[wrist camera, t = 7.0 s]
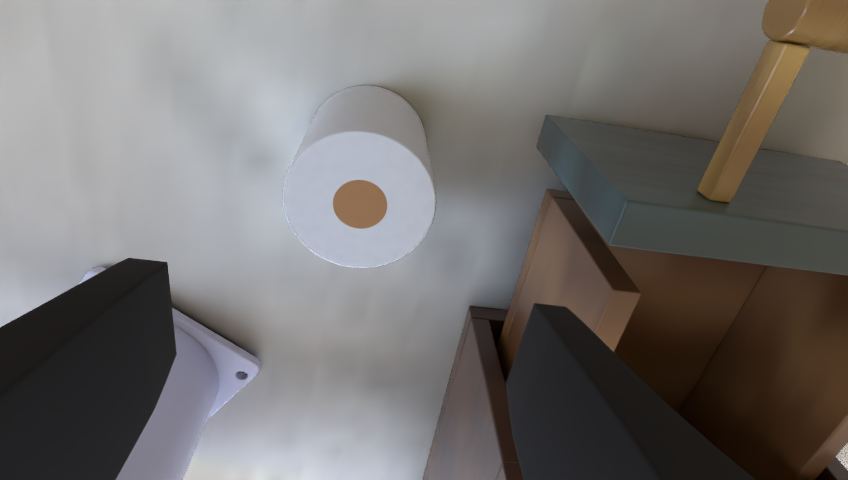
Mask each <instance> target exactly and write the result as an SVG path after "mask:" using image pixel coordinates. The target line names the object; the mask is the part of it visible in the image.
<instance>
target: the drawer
mask: <svg viewBox="0 0 848 480" xmlns="http://www.w3.org/2000/svg"><path fill="white" fill-rule="evenodd" d="M762 29H763V32H764V34H765V35H766V36H767V37H768V38H769V39H771V40H769V41H768V43H767V45H766V47H765V49H764V51H763V53H762V55H761V57H760V59H759V61H758V64H757V66H756V68H755V70H754V72H753V74H752V76H751V78H750V80H749V82H748V84H747V86H746V89H745V91H744V93H743V95H742V97H741V99H740V101H739V103H738V105H737V107H736V109H735V112H734V114H733V116H732V118H731V120H730V122H729V124H728V126H727V128H726V130H725V132H724V135H723V137H722V139H721V141H720V142H715V141H708V140H702V139H696V138H689V137H683V136H677V135H671V134H664V133H658V132H652V131H645V130H639V129H633V128H627V127H620V126H614V125H608V124H601V123H595V122H589V121H583V120H576V119H570V118H564V117H558V116H551V115H546V116H545V119H544V123H543V126H542V130H541V133H540V137H539V140H538V143H537V149H538V150H539V151H540V153H541V154H542V156H543V157H544V158H545V160H546V161H547V162H548V164H549V165H550V166H551V168H552V169H553V170H554V172H555V173H556V175H557V176H558V177H559V179H560V180H561V181H562V183H563V184H564V185H565V187H566V188H567V189H568V191H562V190H554V189H547V190H546V193H545V196H544V199H543V202H542V205H541V209H540V212H539V215H538V218H537V221H536V224H535V227H534V231H533V234H532V237H531V240H530V243H529V246H528V250H527V253H526V256H525V259H524V262H523V265H522V269H521V272H520V275H519V278H518V281H517V284H516V287H515V291H514V294H513V297H512V300H511V303H510V306H509V310H508V313H507V316H506V319H505V322H504V325H503V328H502V332H501V335H500V338H499V341H498V344H497V347H496V350H497V354H498V358H499V361H500V365H501V369H502V373H503V377H504V381H505V384H506V382H507V379H508V376H509V373H510V370H511V368H512V365H513V362H514V359H515V356H516V353H517V350H518V348H519V345H520V342H521V339H522V336H523V333H524V330H525V328H526V325H527V322H528V319H529V316H530V313H531V311H532V308H533V305H534V303H538V304H547V305H556V306H565V307H567V308H568V309H569V310H571V311H572V312H573V313H574V314H575V315H576V316H577V317H578V318H579V319H580V320H581V321H583V322H584V323H585V324H586V325H587V326H588V327H589V328H590V329H591V330H592V331H593V332H594V333H595V334H596V335H597V336H598V337H599V338H600V339H601V340H602V341H603V342H604V343H605V344H606V345H607V346H608V347H609V348H610V349H611V350H612V351H613V352H614V353H615V354H616V355H617V356H618V357H619V358H620V359H621V360H622V361H623V362H624V363H625V364H626V365H627V366H628V367H629V368H630V369H631V370H632V371H633V372H634V373H635V374H636V375H637V376H639V377H640V378H641V379H642V380H643V381H644V382H645V383H646V384H647V385H648V386H649V387H650V388H651V389H652V390H653V391H654V392H655V393H656V394H657V395H658V396H660V397H661V398H662V399H663V400H664V401H665V402H666V403H667V404H668V405H669V406H670V407H671V408H672V409H674V410H675V411H676V412H677V413H678V414H679V415H680V416H681V417H682V418H683V419H685V420H686V421H687V422H688V423H689V424H690V425H691V426H693V427H694V428H695V429H696V430H697V431H698V432H699V433H701V434H702V435H703V436H704V437H705V438H706V439H707V440H709V441H710V442H711V443H712V444H713V445H714V446H715V447H717V448H718V449H719V450H720V451H721V452H722V453H724V454H725V455H726V456H727V457H728V458H730V459H731V460H732V461H733V462H735V463H736V464H737V465H738V466H739V467H741V468H742V469H743V470H744V471H746V472H747V473H748V474H749V475H751V476H752V477H753V478H755V479H757V480H815V479H816V478H817V477H818V476H819V474H820V473H821V472H822V471H823V470H824V469H825V468H826V466H827V465H828V464H829V463H830V462H831V461H832V460H833V459H834V457H835V456H836V455H837V454H838V453H839V452H840V451H841V449H842V448H843V447H844V446H845V445H846V444H847V443H848V165H846V164H844V163H842V162H840V161H834V160H828V159H821V158H815V157H809V156H802V155H796V154H790V153H784V152H777V151H771V150H765V149H759V147H760V145H761V143H762V141H763V139H764V137H765V136H766V134H767V132H768V130H769V128H770V126H771V124H772V122H773V120H774V118H775V116H776V115H777V113H778V111H779V109H780V107H781V105H782V103H783V101H784V99H785V97H786V95H787V93H788V92H789V90H790V88H791V86H792V84H793V82H794V80H795V78H796V76H797V74H798V72H799V70H800V69H801V67H802V65H803V63H804V61H805V59H806V57H807V55H808V53H809V51H810V49H809V48H808V47H812V48H817V49H822V50H828V51H833V52H838V53H843V54H848V0H769V2H768V4H767V6H766V8H765V11H764V14H763V18H762ZM801 45H802V46H801ZM806 46H807V47H806Z"/></svg>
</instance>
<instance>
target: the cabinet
mask: <svg viewBox="0 0 848 480" xmlns="http://www.w3.org/2000/svg"><path fill="white" fill-rule="evenodd" d="M507 313H508V310H499V309H489V308H480V307H469V308H468V312H467V315H466V319H465V323H464V327H463V330H462V334H461V338H460V342H459V345H458V349H457V353H456V357H455V360H454V364H453V368H452V372H451V375H450V379H449V383H448V387H447V390H446V394H445V398H444V402H443V405H442V409H441V413H440V416H439V420H438V424H437V428H436V431H435V435H434V439H433V443H432V446H431V450H430V454H429V458H428V461H427V465H426V469H425V473H424V476H423V480H524V479H523V475H522V471H521V467H520V464H519V460H518V456H517V452H516V448H515V444H514V439H513V435H512V428H511V421H510V414H509V406H508V397H507V388H506V384H505V381H504V377H503V373H502V369H501V365H500V361H499V358H498V354H497V350H496V347H497V344H498V341H499V338H500V335H501V332H502V328H503V325H504V322H505V319H506V316H507ZM756 480H757V479H756ZM815 480H848V471H847V469H846V468H845V467H844V466H843V465H842V464H841V463H840V461H839V460H838V459H837V458H836V457H834V459H833V460H832V461H831V462H830V463H829V464H828V465H827V466H826V468H825V469H824V470H823V471H822V472H821V473H820V474H819V476H818V477H817V478H816V479H815Z"/></svg>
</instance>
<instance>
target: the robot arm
mask: <svg viewBox="0 0 848 480" xmlns="http://www.w3.org/2000/svg"><path fill="white" fill-rule="evenodd" d="M260 368H261V362H260V360H259V359H258V358H256V357H255V356H253V355H251V354H250V353H248V352H246V351H245V350H243V349H241V348H239V347H238V346H236V345H234V344H233V343H231V342H229V341H228V340H226V339H224V338H223V337H221V336H219V335H218V334H216V333H214V332H213V331H211V330H209V329H207V328H206V327H204V326H202V325H201V324H199V323H197V322H196V321H194V320H192V319H191V318H189V317H187V316H186V315H184V314H182V313H181V312H179V311H177V310H175V309H174V308H172V303H171V294H170V284H169V274H168V265H167V262H160V261H151V260H142V259H133V258H128V259H126V260H123V261H121V262H119V263H117V264H115V265H113V266H111V267H110V268H108V269H106V268H103V267H95V268H92V269H91V270H90V271H89V272H88V273H87V274H86V275H85V276H84V278H83V279H82V280H81V281H80V283H79V284H78V285H77V286H75V287H73V288H71V289H70V290H68V291H66V292H64V293H62V294H61V295H59V296H57V297H55V298H53V299H52V300H50V301H48V302H46V303H44V304H42V305H41V306H39V307H37V308H35V309H33V310H32V311H30V312H28V313H26V314H24V315H22V316H21V317H19V318H17V319H15V320H13V321H11V322H10V323H8V324H6V325H4V326H2V327H0V480H183V479H184V476H185V474H186V471H187V469H188V466H189V464H190V461H191V459H192V456H193V454H194V451H195V449H196V446H197V443H198V441H199V438H200V436H201V433H202V431H203V428H204V426H205V423H206V421H207V420H208V419H209V418H210V417H211V416H213V415H214V414H215V413H216V412H217V411H218V410H219V409H220V408H221V407H222V406H223V405H225V404H226V403H227V402H228V401H229V400H230V399H231V398H232V397H233V396H234V395H235V394H236V393H238V392H239V391H240V390H241V389H242V388H243V387H244V386H245V385H246V384H247V383H248V382H249V381H251V380H252V379H253V378H254V377H255V376H256V375H257V374H258V373H259V371H260ZM240 371H243V372H245V373H241V372H240ZM506 388H507V397H508V406H509V414H510V421H511V428H512V435H513V439H514V444H515V448H516V452H517V456H518V460H519V464H520V467H521V471H522V475H523V479H524V480H756V479H755V478H753V477H752V476H751V475H749V474H748V473H747V472H746V471H744V470H743V469H742V468H741V467H739V466H738V465H737V464H736V463H735V462H733V461H732V460H731V459H730V458H728V457H727V456H726V455H725V454H724V453H722V452H721V451H720V450H719V449H718V448H717V447H715V446H714V445H713V444H712V443H711V442H710V441H709V440H707V439H706V438H705V437H704V436H703V435H702V434H701V433H699V432H698V431H697V430H696V429H695V428H694V427H693V426H691V425H690V424H689V423H688V422H687V421H686V420H685V419H683V418H682V417H681V416H680V415H679V414H678V413H677V412H676V411H675V410H674V409H672V408H671V407H670V406H669V405H668V404H667V403H666V402H665V401H664V400H663V399H662V398H661V397H660V396H658V395H657V394H656V393H655V392H654V391H653V390H652V389H651V388H650V387H649V386H648V385H647V384H646V383H645V382H644V381H643V380H642V379H641V378H640V377H639V376H637V375H636V374H635V373H634V372H633V371H632V370H631V369H630V368H629V367H628V366H627V365H626V364H625V363H624V362H623V361H622V360H621V359H620V358H619V357H618V356H617V355H616V354H615V353H614V352H613V351H612V350H611V349H610V348H609V347H608V346H607V345H606V344H605V343H604V342H603V341H602V340H601V339H600V338H599V337H598V336H597V335H596V334H595V333H594V332H593V331H592V330H591V329H590V328H589V327H588V326H587V325H586V324H585V323H584V322H583V321H581V320H580V319H579V318H578V317H577V316H576V315H575V314H574V313H573V312H572V311H571V310H569V309H568V308H567V307H565V306H556V305H547V304H538V303H534V305H533V308H532V311H531V313H530V316H529V319H528V322H527V325H526V328H525V330H524V333H523V336H522V339H521V342H520V345H519V348H518V350H517V353H516V356H515V359H514V362H513V365H512V368H511V370H510V373H509V376H508V379H507V382H506Z"/></svg>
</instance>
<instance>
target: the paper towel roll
mask: <svg viewBox="0 0 848 480" xmlns="http://www.w3.org/2000/svg"><path fill="white" fill-rule="evenodd" d="M283 207H284V211H285V215H286V218H287V220H288V223H289V225H290V227H291V228H292V230H293V232H294V233H295V235H296V236H297V237H298V239H299V240H300V241H301V242H302V243H303V244H304V245H305V246H306V247H307V248H308V249H309V250H311V251H312V252H313V253H315V254H316V255H318V256H319V257H321V258H323V259H325V260H327V261H329V262H332V263H335V264H338V265H342V266H346V267H353V268H371V267H378V266H383V265H386V264H389V263H392V262H394V261H397V260H399V259H401V258H402V257H404V256H406V255H407V254H409V253H410V252H411V251H412V250H414V249H415V248H416V247H417V246H418V245H419V244H420V243H421V241H422V240H423V239H424V237H425V236H426V235H427V233H428V231H429V229H430V227H431V225H432V222H433V219H434V215H435V211H436V192H435V186H434V181H433V175H432V170H431V164H430V158H429V153H428V147H427V142H426V136H425V131H424V127H423V125H422V122H421V120H420V118H419V116H418V114H417V113H416V111H415V110H414V108H413V107H412V106H411V105H410V104H409V103H408V102H407V101H406V100H404V99H403V98H402V97H400V96H399V95H397V94H396V93H394V92H392V91H390V90H387V89H384V88H381V87H376V86H367V85H363V86H354V87H350V88H346V89H344V90H341V91H339V92H337V93H335V94H334V95H332V96H331V97H330V98H328V99H327V100H326V101H325V102H324V103H323V104H322V105H321V106H320V108H319V109H318V110H317V112H316V114H315V116H314V118H313V120H312V122H311V124H310V126H309V128H308V130H307V132H306V134H305V136H304V138H303V141H302V143H301V145H300V147H299V149H298V151H297V153H296V155H295V157H294V159H293V161H292V163H291V166H290V168H289V170H288V172H287V175H286V178H285V181H284V186H283Z"/></svg>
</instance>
